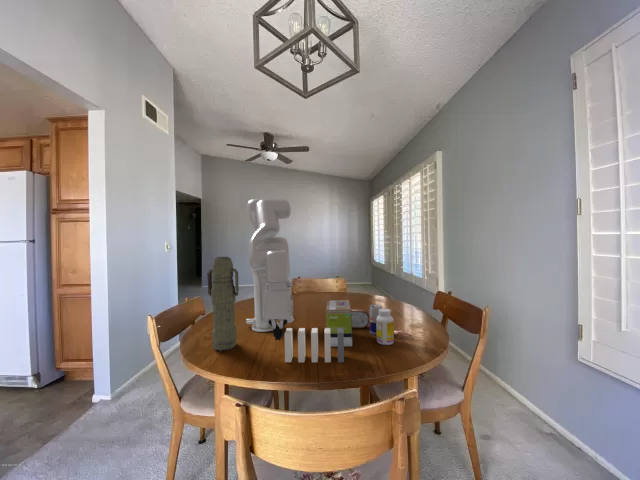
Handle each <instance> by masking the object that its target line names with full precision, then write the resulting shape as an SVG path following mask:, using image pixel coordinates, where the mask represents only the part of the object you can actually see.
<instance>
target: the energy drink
mask: <svg viewBox="0 0 640 480" xmlns="http://www.w3.org/2000/svg"><path fill="white" fill-rule="evenodd" d="M382 307H383V306H382V305H380V304H373V303H372V304H370V305H369V307H368V309H369V311H368V314H369V316H370V322H369V334H370V335H372V336H377V332H376V318H377V316H379V309H383V308H382Z"/></svg>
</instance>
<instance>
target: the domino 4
mask: <svg viewBox="0 0 640 480" xmlns="http://www.w3.org/2000/svg"><path fill="white" fill-rule="evenodd" d="M323 332H324V335H323V336H324V363H331V362H332V355H331V354H332V353H331V351H332V346H331V336H330V328H327V327H325V328H324V331H323Z"/></svg>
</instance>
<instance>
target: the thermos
mask: <svg viewBox="0 0 640 480" xmlns="http://www.w3.org/2000/svg"><path fill="white" fill-rule="evenodd" d="M212 262H213V263H212V265H211V266H212V267H211V268H212V269H208V272H207V276H206V277H207V289H208V290H207V295H208V296H209V297H210V298H211V304H212V310H213V311H212V316H213V322H212V323H213V329H212V331H211V333H212V335H211V336H212V338H211V339H212V341H211V342H212V344H213V345H212V349H213V350H214V349H215V350H219V351H218V352H223V351H222V350H227V351H230V350H229V349H231V350H233V349H235V348H236V347H237V327H236V324H235V323H236V322H235V321H236V320H235V318H236V317H235V303H236V297H237V296H239V287H240V286H239V271H238V270H237V268H234V263H233V261H232V258H231V257H229V256H217V257H215V258H214V259H213V261H212ZM234 280H235V283H234ZM235 346H236V347H235ZM234 347H235V348H234ZM232 348H233V349H232ZM215 350H214V351H215Z"/></svg>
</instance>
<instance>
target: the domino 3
mask: <svg viewBox="0 0 640 480" xmlns="http://www.w3.org/2000/svg"><path fill="white" fill-rule="evenodd" d="M318 329H319V328H318V327H313V328H311V332H310V344H311V345H310V346H311V363H318V362H319V361H318V360H319V330H318Z"/></svg>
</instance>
